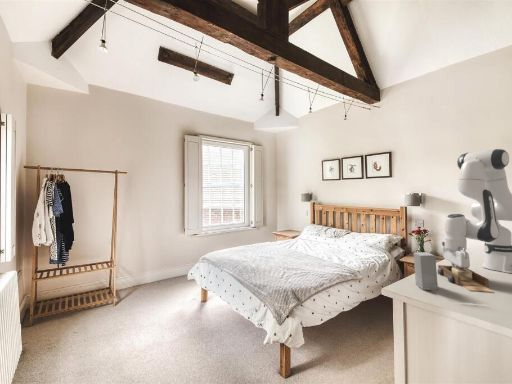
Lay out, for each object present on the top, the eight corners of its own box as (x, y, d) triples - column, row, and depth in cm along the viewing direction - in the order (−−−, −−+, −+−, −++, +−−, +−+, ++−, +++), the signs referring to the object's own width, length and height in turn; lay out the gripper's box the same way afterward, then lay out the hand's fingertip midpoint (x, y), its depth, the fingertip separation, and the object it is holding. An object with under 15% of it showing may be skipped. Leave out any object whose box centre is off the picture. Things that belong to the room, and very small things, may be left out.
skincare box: (438, 291, 115) (438, 255, 115) (420, 290, 116) (420, 255, 117) (429, 284, 123) (429, 251, 123) (413, 283, 125) (413, 251, 125)
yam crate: (465, 276, 131) (465, 267, 131) (472, 280, 125) (471, 270, 125) (451, 275, 133) (451, 266, 133) (457, 279, 127) (457, 270, 127)
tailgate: (485, 286, 118) (494, 291, 111) (485, 288, 118) (494, 294, 111) (461, 284, 120) (469, 289, 114) (461, 286, 120) (469, 292, 114)
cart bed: (467, 275, 138) (467, 266, 138) (491, 289, 117) (491, 279, 117) (435, 272, 142) (435, 264, 142) (454, 286, 121) (454, 276, 121)
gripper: (473, 249, 124) (474, 278, 123) (453, 242, 143) (453, 267, 143) (458, 249, 125) (458, 277, 125) (440, 241, 145) (440, 266, 145)
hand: (455, 272), depth 134 cm, fingers closed
